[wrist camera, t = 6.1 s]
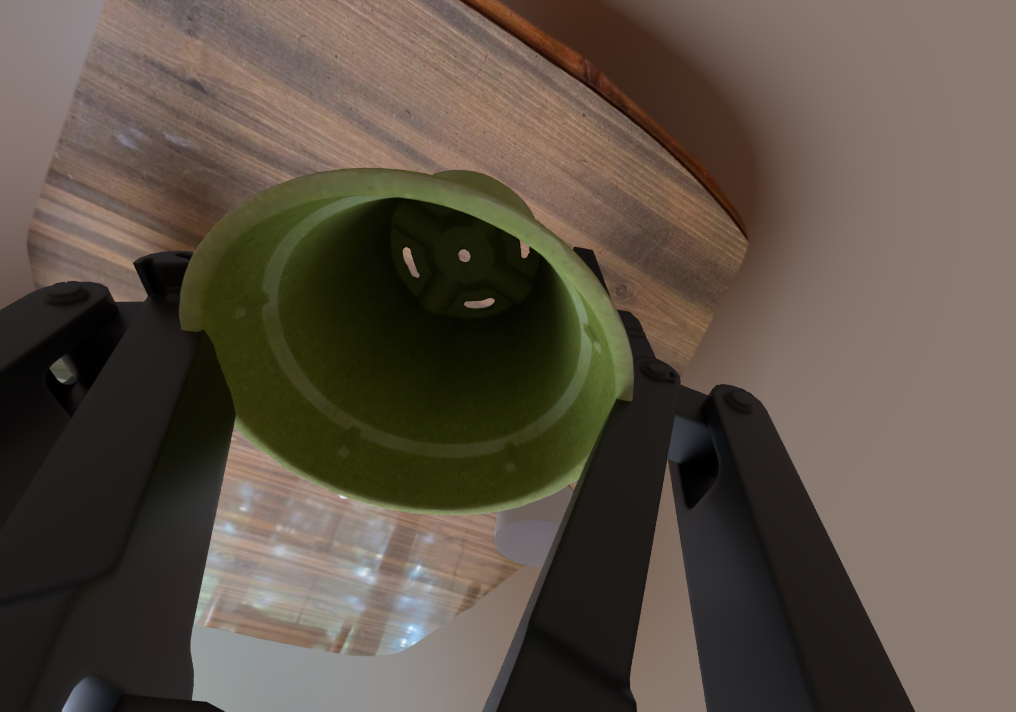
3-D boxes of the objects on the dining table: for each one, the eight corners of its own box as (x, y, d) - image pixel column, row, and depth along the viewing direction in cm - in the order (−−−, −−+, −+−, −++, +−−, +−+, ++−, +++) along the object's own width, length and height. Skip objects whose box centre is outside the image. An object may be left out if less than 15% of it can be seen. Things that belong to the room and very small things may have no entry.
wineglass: (547, 362, 47) (557, 510, 31) (575, 407, 51) (597, 557, 35) (493, 385, 49) (476, 532, 33) (524, 426, 54) (523, 573, 37)
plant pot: (595, 328, 17) (641, 504, 10) (405, 360, 19) (331, 530, 12) (567, 79, 12) (622, 89, 5) (301, 156, 13) (48, 247, 6)
